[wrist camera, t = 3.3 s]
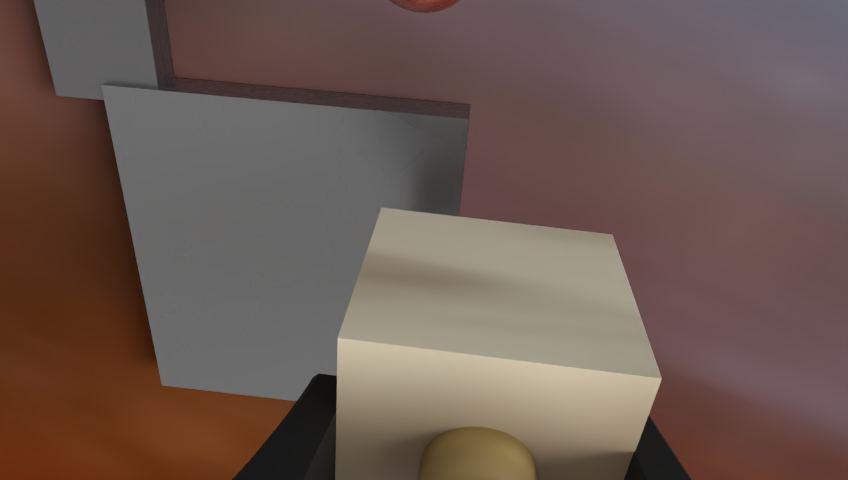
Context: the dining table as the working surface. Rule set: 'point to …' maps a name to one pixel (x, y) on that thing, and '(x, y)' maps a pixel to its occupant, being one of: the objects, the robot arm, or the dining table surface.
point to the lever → (425, 5)
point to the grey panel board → (247, 195)
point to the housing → (490, 355)
